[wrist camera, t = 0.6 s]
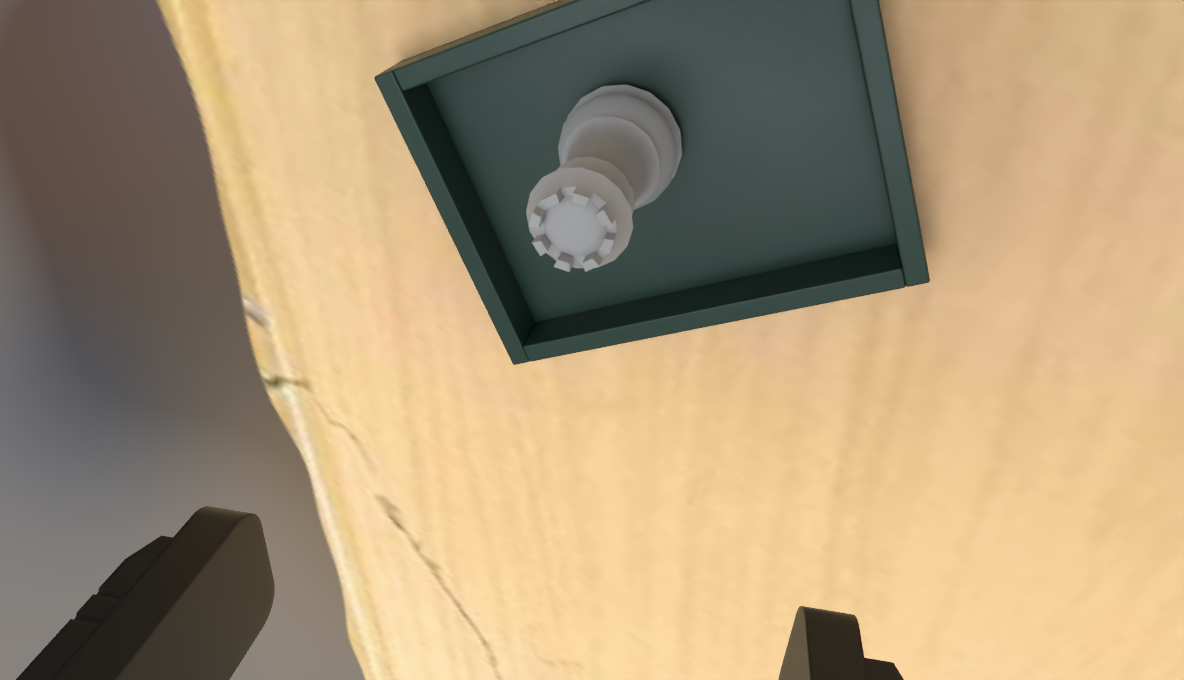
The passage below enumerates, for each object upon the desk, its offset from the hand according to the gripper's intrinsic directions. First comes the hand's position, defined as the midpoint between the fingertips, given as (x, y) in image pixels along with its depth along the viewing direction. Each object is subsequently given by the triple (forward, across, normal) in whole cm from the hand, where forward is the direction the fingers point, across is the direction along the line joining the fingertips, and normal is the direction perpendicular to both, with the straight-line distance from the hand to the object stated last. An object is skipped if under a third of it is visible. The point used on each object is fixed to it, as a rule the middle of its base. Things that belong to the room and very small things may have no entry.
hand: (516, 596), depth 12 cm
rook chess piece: (+21, +1, -1) cm, 21 cm away
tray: (+21, 0, 0) cm, 21 cm away
